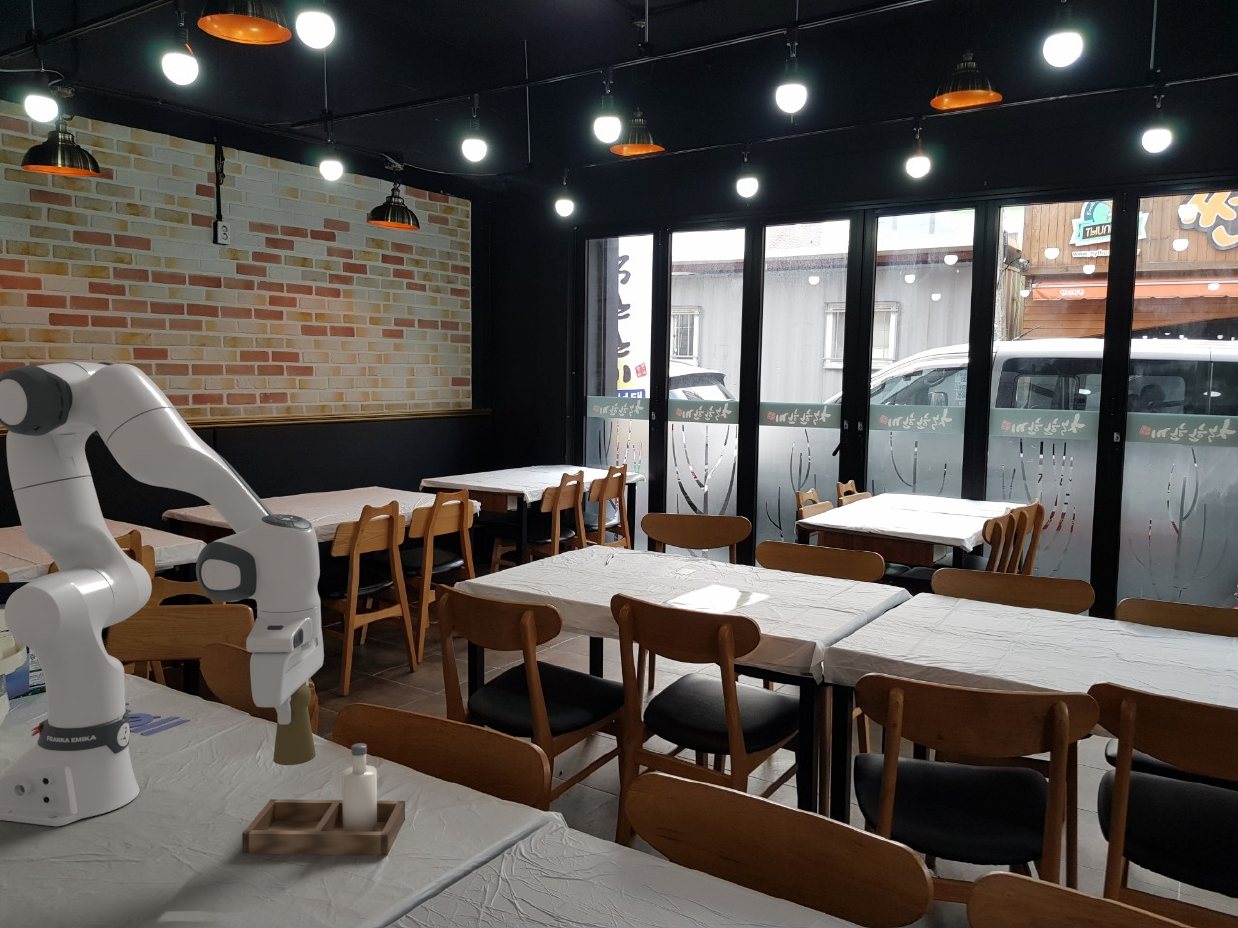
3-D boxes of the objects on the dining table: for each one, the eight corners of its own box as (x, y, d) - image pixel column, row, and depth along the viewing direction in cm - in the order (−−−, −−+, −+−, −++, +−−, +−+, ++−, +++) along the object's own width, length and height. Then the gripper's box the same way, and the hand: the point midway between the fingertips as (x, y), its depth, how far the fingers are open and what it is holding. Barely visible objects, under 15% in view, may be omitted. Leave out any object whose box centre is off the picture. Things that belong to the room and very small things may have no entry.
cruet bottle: (338, 843, 137) (337, 752, 135) (348, 827, 142) (347, 739, 140) (372, 844, 137) (371, 752, 135) (381, 828, 142) (380, 739, 140)
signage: (56, 709, 192) (102, 695, 201) (56, 713, 192) (102, 698, 201) (145, 735, 179) (190, 718, 188) (145, 738, 179) (190, 722, 188)
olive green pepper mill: (303, 766, 134) (301, 693, 134) (265, 763, 135) (262, 690, 134) (323, 750, 140) (321, 679, 139) (286, 747, 141) (284, 677, 140)
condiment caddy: (242, 859, 134) (242, 833, 133) (271, 823, 145) (270, 799, 144) (387, 861, 134) (387, 834, 133) (405, 825, 145) (404, 800, 144)
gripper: (293, 607, 147) (295, 692, 148) (240, 643, 126) (244, 741, 127) (332, 607, 147) (334, 692, 148) (286, 643, 126) (289, 741, 127)
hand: (292, 715), depth 137 cm, fingers closed on olive green pepper mill, 4 cm apart
